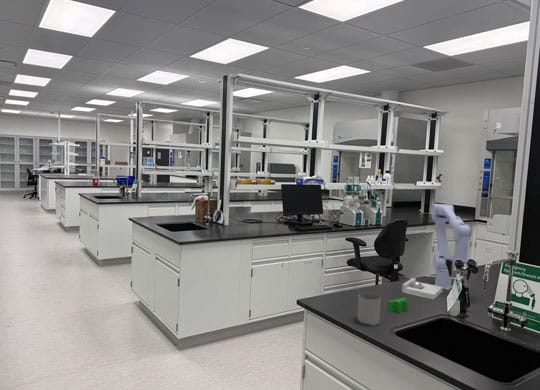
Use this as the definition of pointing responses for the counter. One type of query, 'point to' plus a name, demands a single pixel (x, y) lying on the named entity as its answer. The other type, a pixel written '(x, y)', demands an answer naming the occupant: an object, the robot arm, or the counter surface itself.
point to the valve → (456, 308)
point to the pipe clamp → (398, 305)
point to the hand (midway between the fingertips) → (458, 277)
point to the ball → (417, 285)
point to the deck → (425, 292)
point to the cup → (369, 308)
